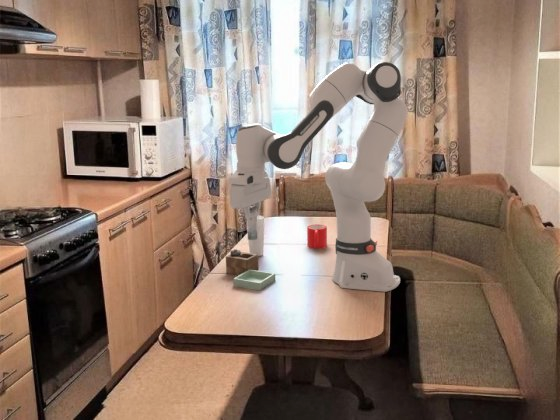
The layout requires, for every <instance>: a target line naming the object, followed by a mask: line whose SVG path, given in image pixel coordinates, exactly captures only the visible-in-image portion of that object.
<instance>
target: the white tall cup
mask: <svg viewBox="0 0 560 420" xmlns="http://www.w3.org/2000/svg"><path fill="white" fill-rule="evenodd" d="M246 233H247V234H248V230H247V229H246ZM247 240H248V247H249V253H252V254H258V257H260V256H264V245H265V244H264V241H265V217H264V216H263V215H260V214H259V215H258V216H257V239H256V240H249V239H248V238H247Z"/></svg>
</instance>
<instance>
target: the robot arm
mask: <svg viewBox="0 0 560 420" xmlns="http://www.w3.org/2000/svg"><path fill="white" fill-rule="evenodd" d="M401 76H402V75H401V72H400V69H399V68H398V67H397V66H396V65H395V64H394V63H392V62H387V61H382V62H378V63H376V64H374V65H373V66H372V67H371V68H370V69H369V70H367V71H366V70H362V69H361V68H359V66H357V65H356V64H354V63H352V62H344V63H342V64H340V65H339V66H338V67H337V68H335V69H333V70H332V71H331V72H329V73H328V74H327V75H325V77H324V78H323V79H322V80H321V81H319V82H318V84H317V85H316V86H315V87H314V88H313V90H312V91H311V93H310V94H309V97H308V98H309V99H308V103H309V109H308V112H307V113H306V115H305V116H304V117H303V118H302V119H301V121H299V123H297V125H296V126H295V127H294V128H293V129H292V130H291V131H289V132H288V133H286V134H282V133H279V132H276V131H272V129H271V130H270V129H268V128H266V127H265V126H263V125H262V124H261V123H257V122H256V123H250V124H249V123H248V124H245V125H241V127H239V128H238V130H237V133H236V139H235V141H236V143H235V144H236V145H235V146H236V147H235V150H236V155H237V162H236V170H235V171H234V172H233V174H231V175H230V176H229V177H228V184H229V185H230V186H229V205H230V207H231V208H232V209H233V210H234V209H235V210H243V213H244V218H245V219H246V220H247V219H250V218H252V213H250V206H256V207H257V216H258V215H260V209H261V206H262V202H263V201H266V200H269V199H270V198H271V196H272V186H271V179H270V178H269V175H268V173H267V172H266V171H265V170H266V169H265V164H266V163H271V164H272V165H273V166H274V167H276V168H278V169H281V170H288V169H292V168H294V167H295V166H297V164H298V163H299V161H300V160H301V158H302V155H303V153H304V151H305V149H306V147H307V146H308V145H309V144H310V142H311V141H312V140H313V139H314V138H315V137H316V136H317V135H318V134H319V132H321V130H322V129H323V128H324V127H325V126H326V124H327V123H328V122H329V121H330V120H331V119H332V118H333V117H334V116H336V115H337V113H339V112H340V111H341V110H342V109H343V108H344V107H345V106H347V104H348V103H350V101H351V100H353V98H358V99H360V100H362V101H363V102H365V104H368V105H373V110H372V113H371V115H370V117H369V119H368V120H367V122H366V124H365V125H364V128H363V129H362V132H361V133H360V134H359V136H358V139H357V141H356V147H357V153H356V158H355V161H354V163H352V162H344V161H343V162H342V161H341V162H337V163H333V164H332V165H330V166H329V167H328V168H327V170H326V172H325V175H324V176H325V177H324V179H325V183H326V186H327V187H328V188H329V191H330V195H331V197H332V200H333V204H334V209H335V214H336V215H335V216H336V238H335V245H334V246H335V247H334V248H335V254H336V258H335V265H334V270H333V274H332V276H331V279H332V282H334V283H336V284H337V285H339V287H340V288H341V289H352V290H361V291H371V292H383V293H385V292H389V291H392V290H394V289H396V288H397V287H399V285H400V283H401V277H400V275H396V274H395V273H394V267H393V264H392V262H390V260H388V259H387V258H386V257H385V256H383V255H382V254H381V253H380V252H379V251H377V245H378V240H376V241H374V240H373V239H372V237H371V235H372V234H371V232H372V231H371V230H372V229H371V228H372V227H371V226H372V224H371V223H372V221H371V220H372V219H371V218H372V217H371V214H370V211H368V209H367V206H366V204H365V203H366V202H367V203H368V202H371V203H372V202H376V201H377V200H379V199H380V198H381V197H382V196H383V194H384V193H385V190H386V181H385V177H384V176H385V175H384V174H385V173H384V171H385V166H386V163H387V159H388V156H389V154H390V152H391V151H392V148H393V147H394V145H395V143H396V142H397V139H398V138H399V136H400V134H401V132H402V129H403V127H404V125H405V122H406V120H407V117H408V113H409V109H408V106H407V104H406V103H405V102H404V101H403V100H401V99H400V98H399V97H400V96H401V94H402V92H401V90H402V89H401V88H402V87H401V85H402V84H401V83H402V78H401Z"/></svg>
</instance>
